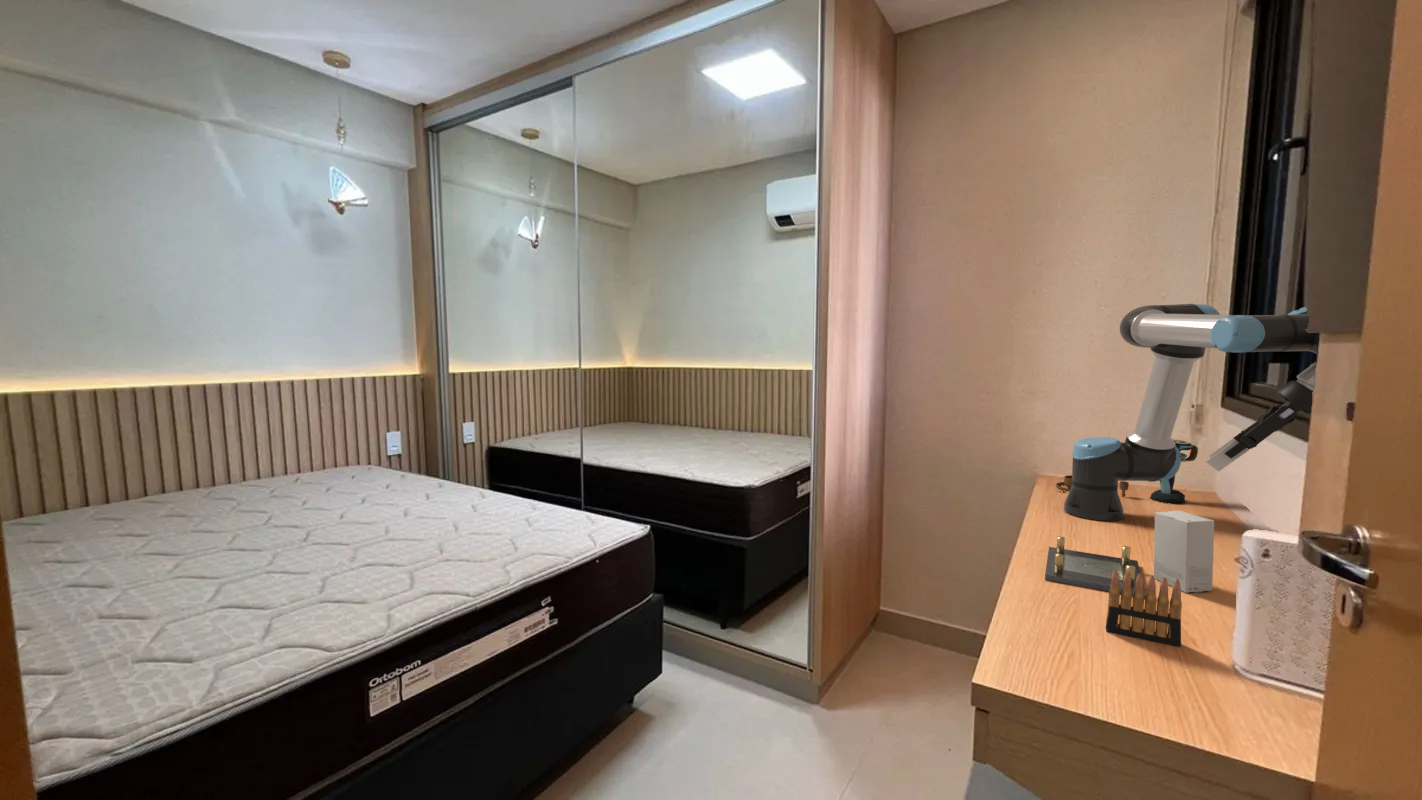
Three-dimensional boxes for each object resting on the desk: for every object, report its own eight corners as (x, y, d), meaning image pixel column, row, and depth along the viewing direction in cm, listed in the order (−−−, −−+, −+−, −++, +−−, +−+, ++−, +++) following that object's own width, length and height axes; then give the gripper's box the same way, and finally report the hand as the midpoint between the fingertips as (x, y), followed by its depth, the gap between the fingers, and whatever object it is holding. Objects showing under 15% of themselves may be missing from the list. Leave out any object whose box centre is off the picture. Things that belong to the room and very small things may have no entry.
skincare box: (1213, 592, 118) (1218, 521, 116) (1184, 594, 117) (1189, 522, 116) (1176, 576, 126) (1181, 509, 124) (1149, 577, 125) (1154, 510, 124)
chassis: (1048, 551, 142) (1049, 531, 141) (1137, 565, 132) (1138, 544, 131) (1044, 579, 125) (1045, 557, 125) (1145, 598, 115) (1146, 574, 115)
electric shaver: (1143, 496, 188) (1146, 438, 186) (1181, 496, 187) (1185, 438, 185) (1161, 504, 179) (1165, 443, 177) (1201, 504, 178) (1206, 443, 176)
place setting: (1084, 485, 206) (1084, 469, 206) (1132, 499, 187) (1133, 482, 186) (1041, 487, 204) (1042, 472, 203) (1085, 503, 184) (1086, 485, 184)
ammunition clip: (1179, 642, 99) (1183, 578, 98) (1180, 647, 97) (1185, 582, 96) (1105, 627, 104) (1108, 566, 103) (1106, 632, 103) (1109, 570, 102)
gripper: (1343, 405, 98) (1229, 483, 108) (1327, 403, 116) (1231, 470, 126) (1298, 377, 102) (1193, 455, 112) (1289, 379, 120) (1199, 446, 130)
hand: (1213, 463), depth 119 cm, fingers open, 13 cm apart
